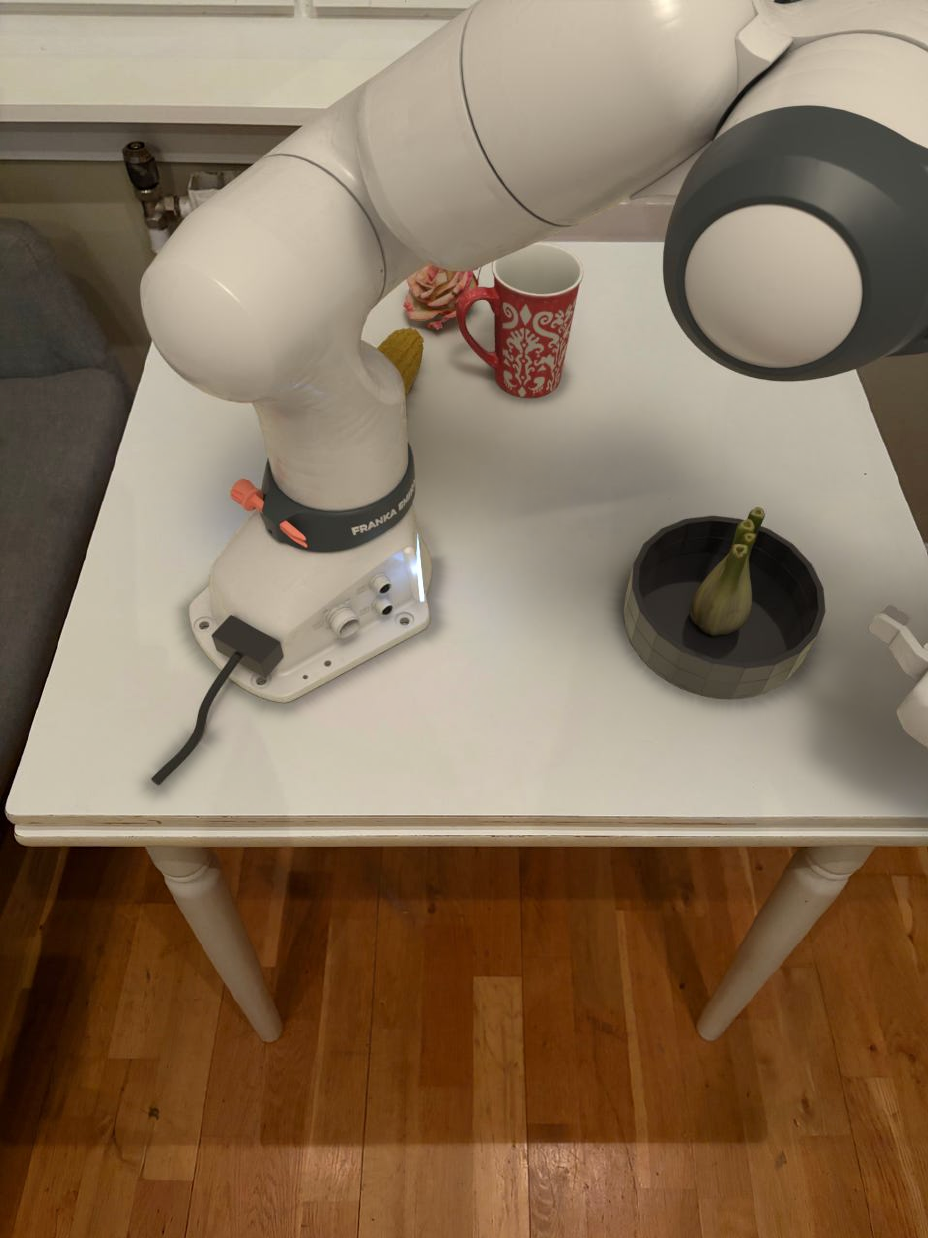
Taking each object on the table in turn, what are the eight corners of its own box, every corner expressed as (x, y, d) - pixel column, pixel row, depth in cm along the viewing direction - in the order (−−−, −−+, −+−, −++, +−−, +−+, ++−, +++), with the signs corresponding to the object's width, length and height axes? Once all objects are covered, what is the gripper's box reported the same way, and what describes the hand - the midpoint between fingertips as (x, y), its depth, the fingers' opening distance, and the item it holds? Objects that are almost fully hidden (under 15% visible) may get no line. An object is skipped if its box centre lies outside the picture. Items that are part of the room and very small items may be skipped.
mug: (556, 344, 107) (568, 235, 96) (579, 397, 102) (595, 288, 91) (447, 359, 105) (446, 250, 94) (465, 414, 100) (466, 305, 89)
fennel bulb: (720, 586, 86) (755, 496, 76) (759, 622, 84) (800, 534, 74) (673, 615, 84) (702, 526, 74) (711, 653, 82) (747, 566, 72)
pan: (736, 734, 78) (752, 703, 74) (586, 621, 84) (593, 586, 80) (842, 621, 85) (861, 587, 81) (695, 524, 91) (707, 488, 87)
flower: (467, 266, 112) (429, 224, 106) (516, 289, 107) (479, 247, 100) (420, 334, 113) (379, 296, 107) (466, 361, 108) (426, 323, 101)
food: (373, 489, 93) (369, 445, 89) (320, 478, 94) (312, 433, 89) (433, 355, 105) (432, 310, 100) (385, 346, 106) (382, 301, 101)
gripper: (1200, 578, 62) (1003, 469, 67) (1065, 779, 53) (850, 635, 59) (1142, 633, 67) (963, 527, 73) (1010, 824, 58) (818, 688, 64)
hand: (911, 577), depth 66 cm, fingers open, 8 cm apart
